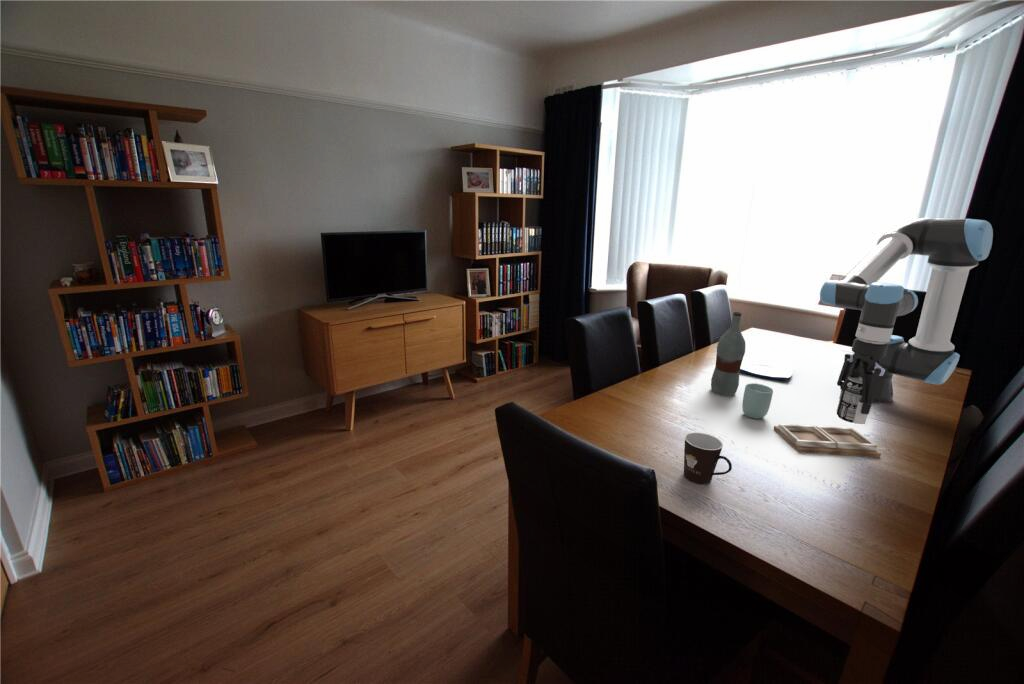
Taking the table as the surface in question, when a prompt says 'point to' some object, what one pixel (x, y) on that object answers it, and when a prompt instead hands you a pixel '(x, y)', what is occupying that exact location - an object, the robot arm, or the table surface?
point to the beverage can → (850, 399)
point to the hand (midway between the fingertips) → (850, 417)
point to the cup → (756, 400)
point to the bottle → (729, 359)
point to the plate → (766, 369)
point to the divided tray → (827, 440)
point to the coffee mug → (702, 457)
